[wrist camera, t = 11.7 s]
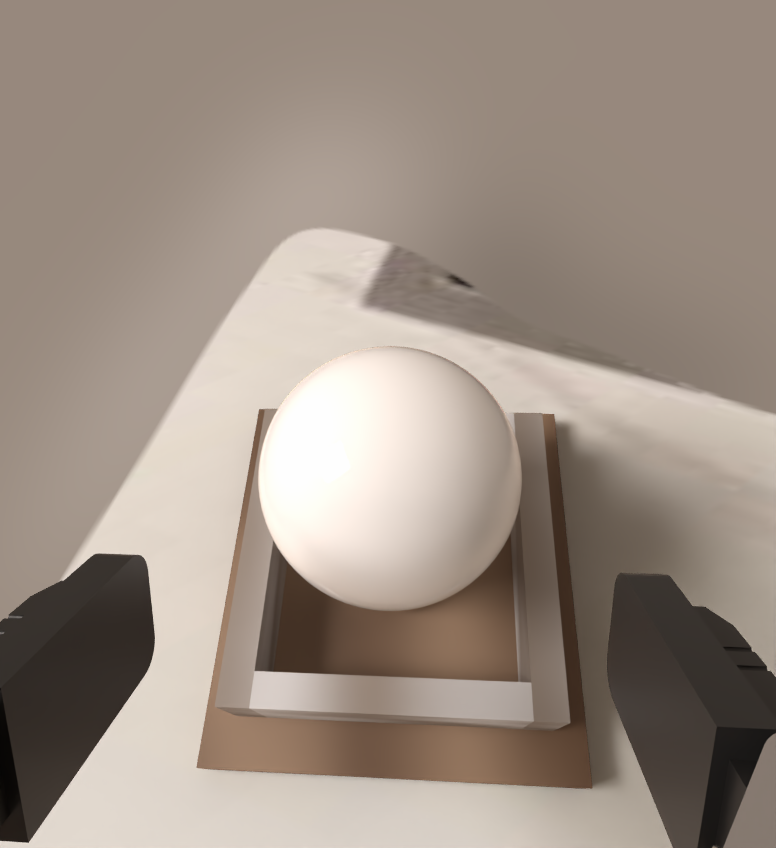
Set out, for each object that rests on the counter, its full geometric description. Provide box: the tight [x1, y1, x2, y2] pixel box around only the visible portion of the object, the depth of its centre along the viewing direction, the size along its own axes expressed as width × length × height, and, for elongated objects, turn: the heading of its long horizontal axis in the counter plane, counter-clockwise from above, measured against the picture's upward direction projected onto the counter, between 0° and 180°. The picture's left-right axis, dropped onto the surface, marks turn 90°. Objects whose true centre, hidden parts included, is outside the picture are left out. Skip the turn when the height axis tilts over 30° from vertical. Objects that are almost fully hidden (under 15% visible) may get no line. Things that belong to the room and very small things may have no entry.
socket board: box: [197, 409, 592, 789], centre depth 22 cm, size 12×13×4 cm
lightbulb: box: [258, 346, 522, 611], centre depth 17 cm, size 6×6×11 cm
